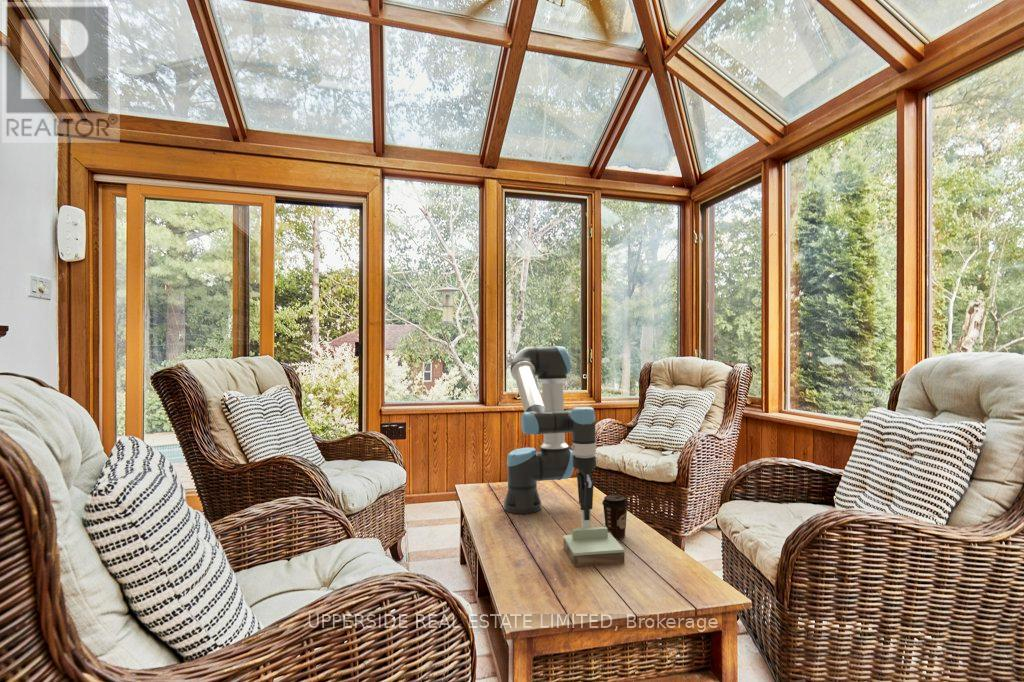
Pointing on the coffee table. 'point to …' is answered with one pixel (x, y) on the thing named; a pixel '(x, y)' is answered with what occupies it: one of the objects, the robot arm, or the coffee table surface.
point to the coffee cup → (615, 515)
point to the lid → (592, 541)
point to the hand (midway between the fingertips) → (586, 528)
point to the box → (594, 558)
